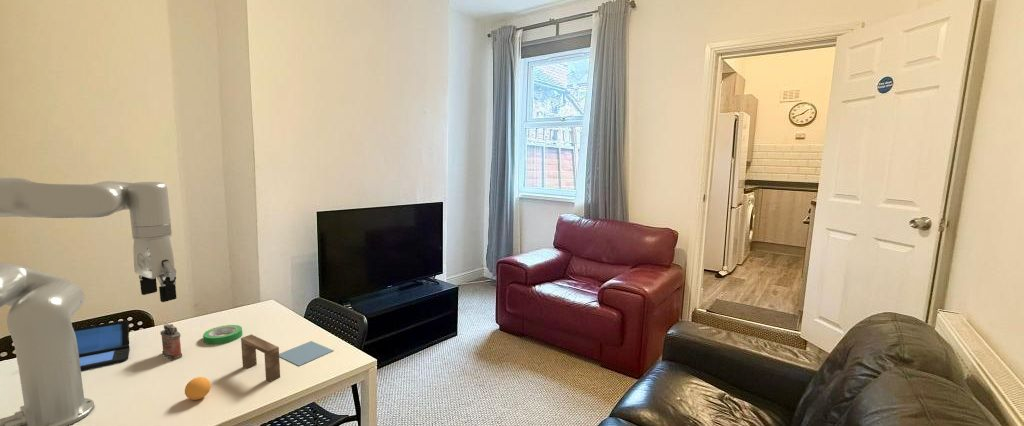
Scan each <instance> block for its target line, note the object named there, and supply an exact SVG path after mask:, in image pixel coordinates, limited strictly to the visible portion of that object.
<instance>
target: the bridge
mask: <svg viewBox="0 0 1024 426" xmlns="http://www.w3.org/2000/svg"><path fill="white" fill-rule="evenodd" d="M240 343H241V346H240V347H241V359H242V361H241V363H242V368H244V369H250V368H252V367H253V366H256V365H257V361H258V359H257V351H259V352H261V353H263V354H264V369H265V380H266V381H268V382H272V381H274V380H277V379H279V378H281V367H280V366H281V365H280V364H281V363H280V357H279V354H280V348H279V346H278V345H275V344H273V343H271V342H269V341H267V340H264V339H262V338H260V337H258V336H257V335H253V334H248V335H246V336H241V337H240Z"/></svg>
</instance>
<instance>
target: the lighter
mask: <svg viewBox="0 0 1024 426" xmlns="http://www.w3.org/2000/svg"><path fill="white" fill-rule="evenodd" d="M160 335H161V342H162V343H161V344H162V356H163V357H164V358H165V359H168V360H172V361H174V360H175V361H176V360H180V359H181V358H183V353H182V347H181V345H182V344H181V333H180V332H179V331H178V328H177V327H176V326H174V325H173V323H170V324H169V323H166V324H163V330H161V331H160Z"/></svg>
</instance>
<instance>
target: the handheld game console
mask: <svg viewBox="0 0 1024 426" xmlns="http://www.w3.org/2000/svg"><path fill="white" fill-rule="evenodd" d="M129 325H130V324H129V321H127V320H119V321H111V322H106V323H99V324H92V325H86V326H80V327H75V328H74V327H73V329H74V332H75V335H76V340H77V346H78V352H79V360H80V368H81V372H83V371H88V369H89V370H92V369H98V368H103V367H107V366H111V365H117V364H121V363H125V362H126V361H128V359H129V356H130V351H131V350H130V349H131V348H130V332H129V331H130V329H129V327H130V326H129Z"/></svg>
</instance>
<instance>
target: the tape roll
mask: <svg viewBox="0 0 1024 426" xmlns="http://www.w3.org/2000/svg"><path fill="white" fill-rule="evenodd" d="M221 334H223V335H221ZM202 336H203V342H204V344H206V345H213V346H215V345H217V346H218V345H224V344H228V343H231V342H234V341H236V340H239V339H241V338H242V337H243V327H242V326H241V325H239V324H228V325H227V324H226V325H221V326H216V327H213V328H210V329H208V330H207V331H205V332H204V333H203V335H202Z"/></svg>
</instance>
